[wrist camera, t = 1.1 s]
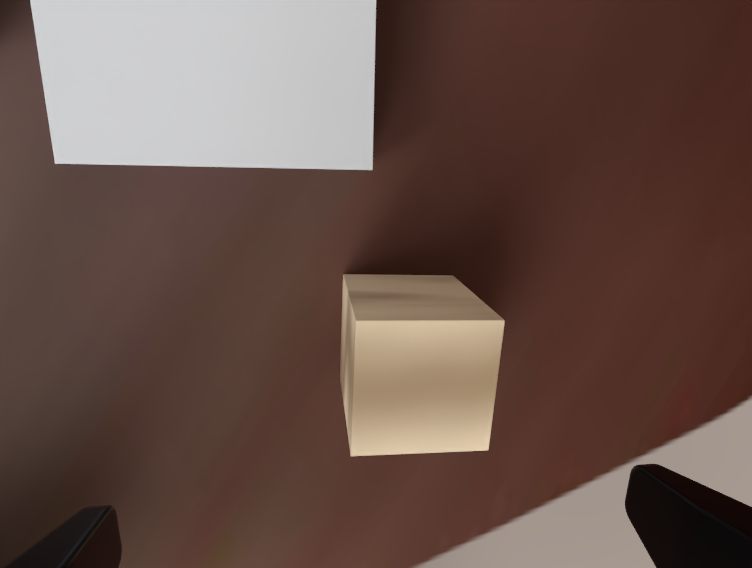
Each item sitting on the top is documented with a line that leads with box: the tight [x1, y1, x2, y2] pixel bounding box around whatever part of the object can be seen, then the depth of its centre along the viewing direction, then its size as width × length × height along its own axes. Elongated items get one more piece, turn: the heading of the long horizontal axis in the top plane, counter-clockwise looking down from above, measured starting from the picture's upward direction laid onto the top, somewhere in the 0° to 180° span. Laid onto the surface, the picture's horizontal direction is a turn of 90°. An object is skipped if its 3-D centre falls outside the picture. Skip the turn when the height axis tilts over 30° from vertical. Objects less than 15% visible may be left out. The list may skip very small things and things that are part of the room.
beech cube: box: [340, 274, 505, 456], centre depth 19 cm, size 5×5×6 cm
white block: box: [30, 0, 376, 170], centre depth 16 cm, size 10×10×4 cm
